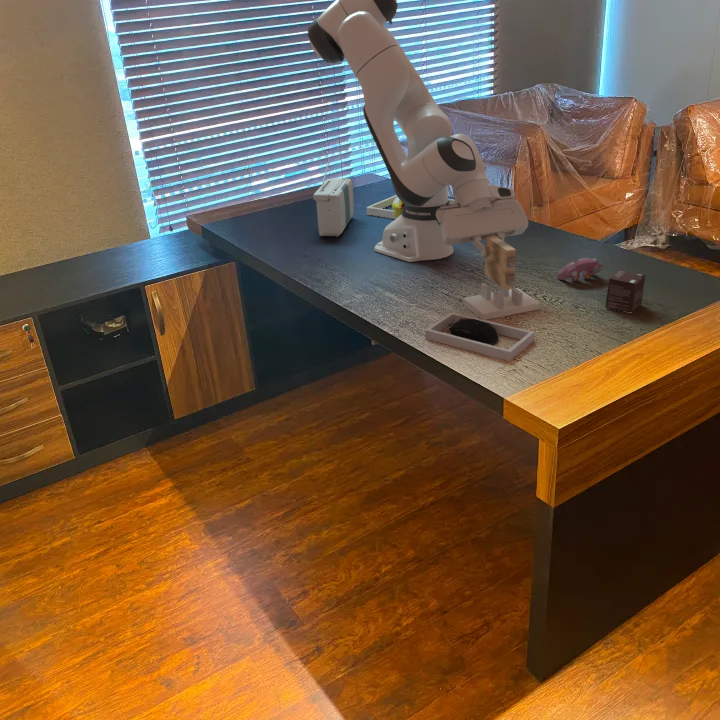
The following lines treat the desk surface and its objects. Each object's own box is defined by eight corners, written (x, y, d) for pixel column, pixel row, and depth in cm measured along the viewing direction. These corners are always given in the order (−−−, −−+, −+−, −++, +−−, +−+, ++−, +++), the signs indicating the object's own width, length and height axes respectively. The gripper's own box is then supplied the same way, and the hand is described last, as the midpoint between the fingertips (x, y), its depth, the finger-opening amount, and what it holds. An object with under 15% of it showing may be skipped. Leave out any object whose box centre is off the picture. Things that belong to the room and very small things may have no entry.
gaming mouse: (454, 320, 157) (454, 303, 155) (505, 341, 146) (505, 324, 145) (433, 329, 154) (433, 312, 152) (483, 351, 143) (484, 333, 141)
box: (615, 299, 161) (619, 269, 158) (641, 305, 158) (646, 274, 154) (604, 308, 157) (608, 277, 154) (631, 314, 154) (635, 283, 150)
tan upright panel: (484, 274, 162) (486, 236, 158) (492, 272, 163) (494, 235, 158) (507, 292, 153) (510, 252, 148) (516, 290, 153) (518, 251, 149)
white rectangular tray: (366, 214, 233) (366, 207, 232) (402, 199, 247) (402, 192, 246) (432, 225, 219) (432, 217, 217) (466, 208, 233) (466, 201, 232)
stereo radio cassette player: (342, 238, 213) (337, 171, 203) (315, 238, 214) (310, 171, 205) (355, 218, 231) (351, 155, 221) (330, 218, 232) (325, 156, 223)
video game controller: (562, 289, 172) (571, 269, 167) (554, 276, 175) (563, 255, 169) (598, 283, 174) (608, 263, 169) (589, 270, 177) (599, 249, 171)
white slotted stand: (463, 303, 164) (463, 285, 162) (517, 293, 167) (517, 275, 165) (483, 320, 155) (483, 301, 153) (539, 309, 159) (540, 290, 157)
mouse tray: (425, 338, 149) (424, 329, 148) (451, 320, 156) (451, 312, 155) (509, 361, 138) (510, 352, 137) (533, 340, 145) (534, 332, 144)
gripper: (437, 199, 157) (455, 255, 153) (520, 188, 161) (539, 241, 158) (429, 214, 162) (446, 268, 159) (510, 203, 167) (528, 254, 164)
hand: (493, 254), depth 158 cm, fingers closed on tan upright panel, 2 cm apart
